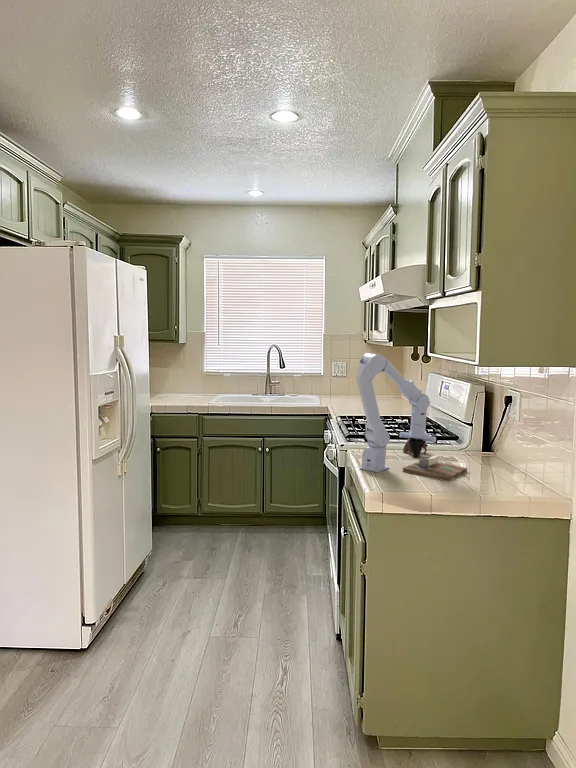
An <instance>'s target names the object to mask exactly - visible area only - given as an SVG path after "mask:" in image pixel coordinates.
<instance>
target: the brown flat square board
mask: <svg viewBox="0 0 576 768" xmlns="http://www.w3.org/2000/svg"><path fill="white" fill-rule="evenodd" d="M402 472H403V473H407V474H413V475H417V476H422V477H427V478H430V479H435V478H437V480H440V479H442V480H441V481H445V480H447V481H446V482H450V481H451V479H452V480H453V478H454V479H456V478H457V477H460V476H462V475H464V474H466V473H468V467H463V466H459V465H453V464H447V463H443V462H439V461H438V462H437V463H435V464H433V465H430V466H429V467H428V468H420V467H419V461H417V462H414V463H412V464H409V465H406V466H404V467H402ZM455 477H456V478H455ZM449 480H450V481H449Z"/></svg>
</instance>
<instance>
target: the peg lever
mask: <svg viewBox="0 0 576 768" xmlns="http://www.w3.org/2000/svg"><path fill="white" fill-rule="evenodd" d="M418 462H419V467H420V468H428V467H429V466H430V465H433V464H435V463H437V462H438V463H439V456H438V455H433V456H430V457H428V458H425V457H421V458H420V457H419V458H418Z"/></svg>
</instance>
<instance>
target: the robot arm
mask: <svg viewBox="0 0 576 768" xmlns="http://www.w3.org/2000/svg"><path fill="white" fill-rule="evenodd" d="M358 365H359V366H358V370H357V374H356V382H357V386H358V391H359V395H360V398H361V404H362V406H363V410H364V416H365V419H366V423H365V426H364V427H365V432H364V437H365V440H366V441H367V445H366V448H364V449H363V451H362V453H361V466H359V469H360V470H361V469H362V470H366V471H370V472H375V473H379V472H381V471H384V470H387V469H390V466H388V465H386V460H387V459H386V458H387V445H388V444H389V442H390V439H391V436H390V434H389V432H388V431H387V429H386V426H385V425H384V423H383V421H382V419H381V415H380V411H379V406H378V402H377V398H376V394H375V390H374V386H373V380H374V378H375V377H376V376H377V375H378V374H379V373H381V372H382V373H384V374H385V375H387V377H388V378H390V379H391V380H392V381H393V382H395V384H396V385H397V386H398V388H397V389H398V391H399V392H400V393H401V394H402V395H403V396H404V397H405V399H407V400H408V403H409V405H411V411H410V412H411V413H410V415H411V416H410V428H409V429H410V431H409V432H408V431H399V436H398V437H399V438H405V439H408V440H409V439H410V440H409V444H410V446H411V448H412V452H413V453H412V455H413V459H420V456H421V452H422V449H423V446H424V444H425V443H426V442H428V443H432V444H434V443H436V442H437V437H436V436H431V435H428V434H426V425H427V414H428V413H427V412H428V408H429V406H430V405H431V401H430V399H429V396H428V395H427V394H424V393H423V391H422V389H421V388H418V387H417V386H416V385H415V381H414V380H412V379H410V378H407V379H405V377H404V376H402V375H401V374H400V372H399V371H398V370H397V369H396V368H395V367H394V366H393V364H392V363H391V362H390V361H389V360H388V359H387V358H386V357H384V356H383V354H379V353H378V354H375V353H371V352H365V353H364V354H363V355H362V357H361V358H360V359H359V360H358Z"/></svg>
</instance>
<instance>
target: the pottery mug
mask: <svg viewBox="0 0 576 768" xmlns="http://www.w3.org/2000/svg"><path fill="white" fill-rule="evenodd" d="M409 440H410V438H408V439H407V440H406V442H405V444H404V446H403V449H402V452H403V453H405V454H406V455H408V453H410V454H413V452H412V448H411V446H410V444H409ZM427 447H428V444H427V443H426V442H425V444H424V446H423V448H422V449H423V450H424V451H423V454H424V455H426V454H427V450H428V449H427Z"/></svg>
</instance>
